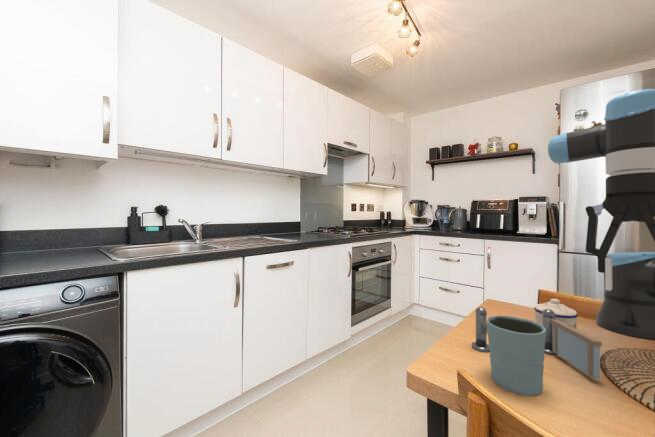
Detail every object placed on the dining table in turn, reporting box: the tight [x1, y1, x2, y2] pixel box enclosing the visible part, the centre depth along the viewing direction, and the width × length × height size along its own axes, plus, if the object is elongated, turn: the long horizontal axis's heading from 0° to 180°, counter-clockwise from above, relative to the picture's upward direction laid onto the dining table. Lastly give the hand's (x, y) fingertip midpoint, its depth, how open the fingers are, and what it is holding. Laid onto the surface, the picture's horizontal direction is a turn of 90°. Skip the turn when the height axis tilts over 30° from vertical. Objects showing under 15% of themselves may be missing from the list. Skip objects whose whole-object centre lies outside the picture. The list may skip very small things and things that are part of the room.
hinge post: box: [542, 309, 559, 356], centre depth 70 cm, size 4×4×10 cm
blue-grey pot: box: [486, 315, 546, 397], centre depth 57 cm, size 10×10×12 cm
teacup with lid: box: [533, 298, 579, 330], centre depth 75 cm, size 12×9×12 cm
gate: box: [551, 319, 603, 380], centre depth 62 cm, size 12×1×8 cm, turn 174°
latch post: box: [471, 306, 490, 353], centre depth 72 cm, size 5×4×10 cm
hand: (633, 292), depth 54 cm, fingers open, 6 cm apart
